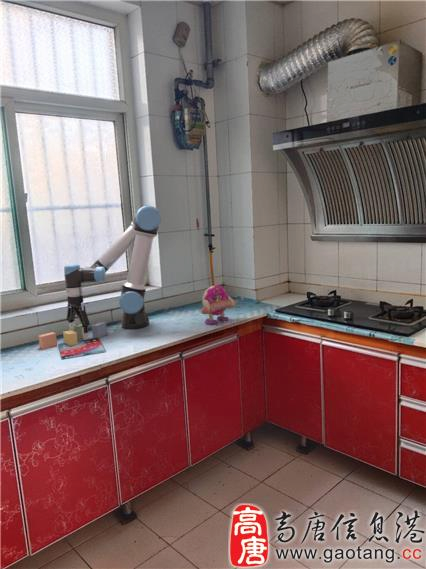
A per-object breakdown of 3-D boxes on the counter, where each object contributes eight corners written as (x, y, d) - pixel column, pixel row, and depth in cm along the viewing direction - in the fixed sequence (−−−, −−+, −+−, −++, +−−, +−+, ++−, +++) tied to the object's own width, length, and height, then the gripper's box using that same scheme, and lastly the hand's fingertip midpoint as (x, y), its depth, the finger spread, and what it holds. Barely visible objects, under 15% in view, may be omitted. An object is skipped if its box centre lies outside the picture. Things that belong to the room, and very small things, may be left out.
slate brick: (101, 333, 226) (100, 322, 225) (107, 333, 224) (106, 322, 223) (92, 337, 220) (91, 325, 219) (98, 337, 218) (96, 326, 217)
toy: (205, 328, 223) (203, 289, 220) (195, 325, 230) (192, 288, 226) (241, 318, 238) (239, 282, 235) (230, 316, 245) (228, 281, 242)
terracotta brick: (54, 344, 212) (52, 332, 211) (57, 345, 209) (55, 333, 208) (39, 347, 207) (38, 335, 206) (42, 349, 204) (41, 336, 203)
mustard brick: (64, 344, 211) (63, 332, 210) (71, 342, 213) (69, 330, 212) (71, 346, 206) (69, 334, 205) (78, 344, 208) (76, 332, 207)
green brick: (84, 335, 225) (83, 323, 224) (87, 336, 222) (86, 324, 221) (71, 338, 220) (70, 326, 219) (74, 339, 217) (73, 327, 216)
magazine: (61, 361, 187) (61, 359, 187) (58, 345, 210) (57, 343, 210) (106, 353, 194) (106, 351, 194) (98, 338, 217) (98, 337, 217)
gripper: (56, 294, 224) (61, 334, 227) (79, 299, 206) (84, 343, 209) (70, 291, 229) (75, 331, 232) (94, 296, 211) (98, 339, 214)
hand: (79, 336), depth 221 cm, fingers open, 13 cm apart
